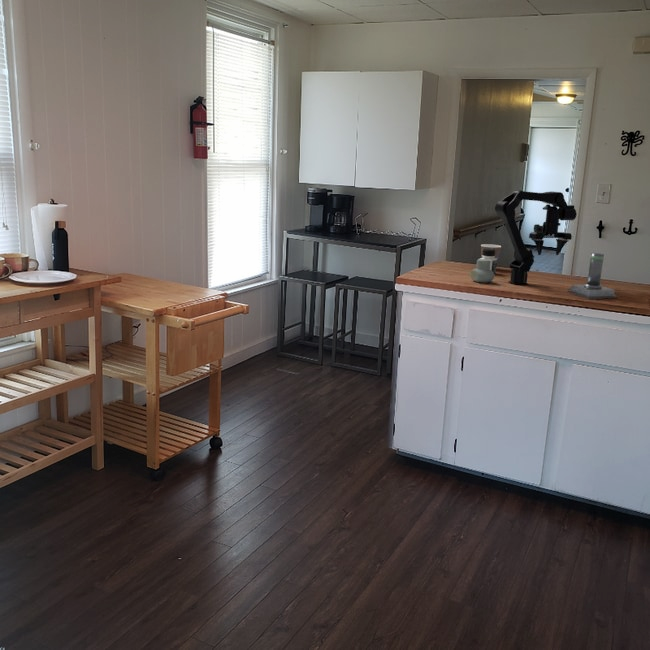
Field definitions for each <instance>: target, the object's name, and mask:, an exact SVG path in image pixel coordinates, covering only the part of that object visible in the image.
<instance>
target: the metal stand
mask: <svg viewBox="0 0 650 650" xmlns="http://www.w3.org/2000/svg"><path fill="white" fill-rule="evenodd" d="M615 291H616V289H615V288H614V289H613V288H610V287H608V286H607V287H606V286H603V285H602V288H601V289H593V288H587V287H584V284H571V289H568V290H567V293H568V292H569V293H568V294H571V293H572V294H571V295H574V294H575V295H574V296H577V295H578V297H580V296H581V298H583V297H584V299H587V298H588V299H587V300H604V298H616V299H618V295H615ZM602 298H603V299H602Z"/></svg>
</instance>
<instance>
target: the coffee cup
mask: <svg viewBox="0 0 650 650" xmlns="http://www.w3.org/2000/svg"><path fill="white" fill-rule="evenodd" d="M480 246H481V247H480V251H481V253H480V258H483V257H482V251H483V249H485V248H489V249H494V250H495V259H497V264H498V263H499V262H498V261H499V259H500V253H501V250H502V249H501V248H502V246H501V245H499V244H491V243H490V244H487V243H485V244H484V243H483V244H480Z"/></svg>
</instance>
